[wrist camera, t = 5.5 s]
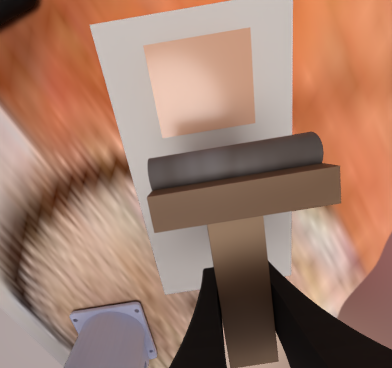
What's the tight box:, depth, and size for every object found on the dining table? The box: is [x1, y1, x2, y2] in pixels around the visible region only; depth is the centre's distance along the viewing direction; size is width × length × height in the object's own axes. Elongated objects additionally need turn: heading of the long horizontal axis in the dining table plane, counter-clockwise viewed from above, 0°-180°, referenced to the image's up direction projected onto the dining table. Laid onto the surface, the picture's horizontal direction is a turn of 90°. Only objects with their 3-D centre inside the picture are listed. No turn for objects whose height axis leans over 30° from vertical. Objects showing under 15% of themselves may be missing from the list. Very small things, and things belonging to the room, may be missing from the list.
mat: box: [90, 0, 293, 295], centre depth 19 cm, size 25×14×1 cm, turn 9°
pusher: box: [147, 132, 341, 368], centre depth 11 cm, size 11×6×6 cm, turn 9°
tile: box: [143, 27, 255, 138], centre depth 15 cm, size 2×7×6 cm
